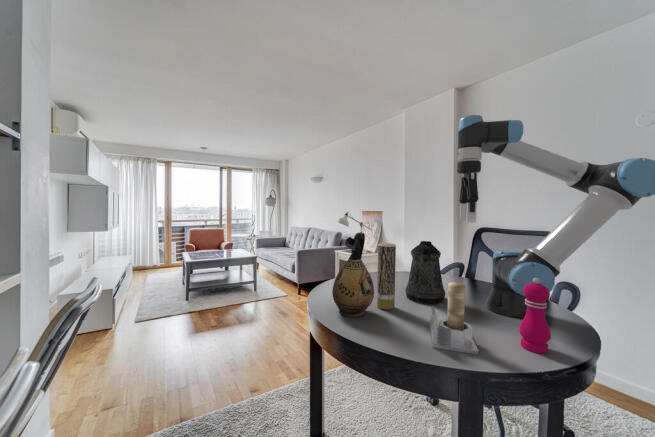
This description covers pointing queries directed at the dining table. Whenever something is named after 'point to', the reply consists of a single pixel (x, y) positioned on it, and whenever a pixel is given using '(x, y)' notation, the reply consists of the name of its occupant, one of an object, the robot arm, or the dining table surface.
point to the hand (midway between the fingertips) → (467, 221)
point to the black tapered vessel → (425, 275)
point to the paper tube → (386, 276)
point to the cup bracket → (451, 336)
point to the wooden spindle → (456, 305)
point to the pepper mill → (535, 318)
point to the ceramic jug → (353, 281)
